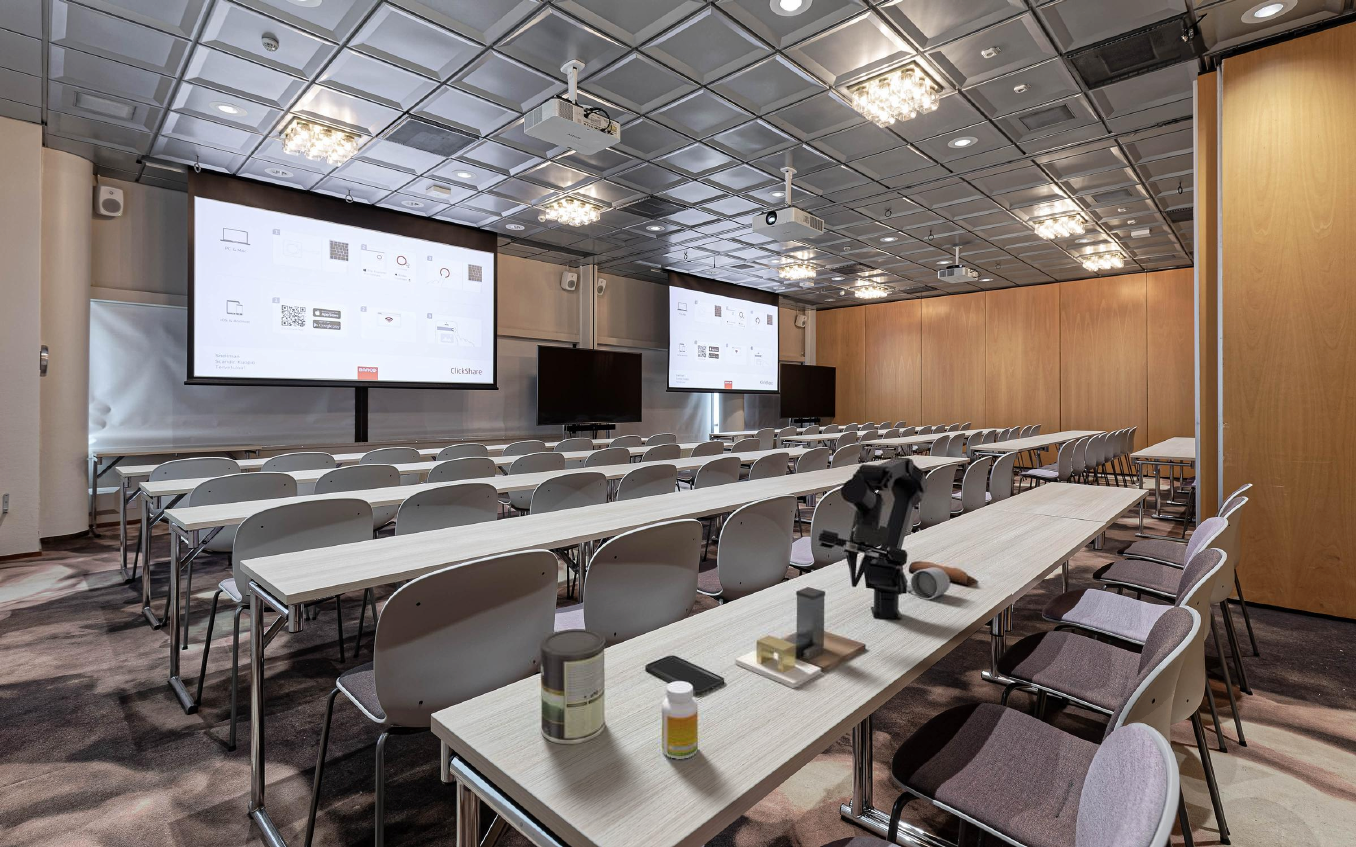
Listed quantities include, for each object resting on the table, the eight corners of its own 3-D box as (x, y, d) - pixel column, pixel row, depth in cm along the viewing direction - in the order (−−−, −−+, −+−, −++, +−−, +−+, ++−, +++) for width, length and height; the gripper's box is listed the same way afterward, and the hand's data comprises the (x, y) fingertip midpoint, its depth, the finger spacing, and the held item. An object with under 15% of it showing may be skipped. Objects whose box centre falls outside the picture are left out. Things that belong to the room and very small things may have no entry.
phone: (672, 654, 125) (727, 679, 114) (672, 659, 125) (726, 684, 114) (642, 665, 119) (696, 693, 108) (642, 671, 119) (696, 699, 108)
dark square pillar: (807, 640, 130) (808, 586, 130) (824, 646, 127) (825, 591, 127) (778, 654, 123) (778, 597, 123) (795, 660, 120) (796, 602, 120)
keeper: (769, 656, 123) (769, 634, 123) (795, 666, 119) (795, 644, 118) (756, 662, 120) (756, 640, 120) (782, 672, 116) (783, 650, 116)
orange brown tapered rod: (981, 580, 176) (976, 563, 174) (971, 597, 173) (966, 580, 170) (922, 567, 190) (916, 551, 188) (911, 582, 186) (906, 566, 184)
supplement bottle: (705, 752, 92) (705, 688, 91) (675, 765, 89) (675, 699, 88) (683, 736, 96) (683, 675, 96) (654, 747, 93) (654, 684, 93)
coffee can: (531, 742, 94) (530, 652, 94) (552, 708, 104) (551, 627, 104) (597, 746, 93) (596, 655, 93) (611, 712, 103) (611, 629, 103)
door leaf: (809, 630, 139) (809, 625, 139) (865, 648, 129) (865, 644, 129) (765, 650, 128) (765, 645, 128) (822, 672, 118) (822, 667, 118)
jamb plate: (763, 651, 128) (763, 646, 128) (820, 673, 118) (820, 668, 118) (735, 663, 122) (735, 658, 122) (793, 688, 112) (793, 682, 112)
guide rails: (793, 643, 130) (793, 634, 129) (823, 653, 124) (823, 644, 124) (779, 650, 126) (779, 641, 126) (808, 661, 121) (808, 652, 121)
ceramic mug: (952, 595, 163) (952, 567, 163) (938, 602, 158) (938, 573, 158) (913, 587, 171) (913, 560, 171) (899, 593, 166) (899, 565, 165)
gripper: (827, 498, 133) (812, 570, 128) (917, 520, 128) (905, 594, 123) (824, 510, 143) (810, 577, 138) (907, 530, 138) (896, 600, 134)
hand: (853, 586), depth 133 cm, fingers closed
